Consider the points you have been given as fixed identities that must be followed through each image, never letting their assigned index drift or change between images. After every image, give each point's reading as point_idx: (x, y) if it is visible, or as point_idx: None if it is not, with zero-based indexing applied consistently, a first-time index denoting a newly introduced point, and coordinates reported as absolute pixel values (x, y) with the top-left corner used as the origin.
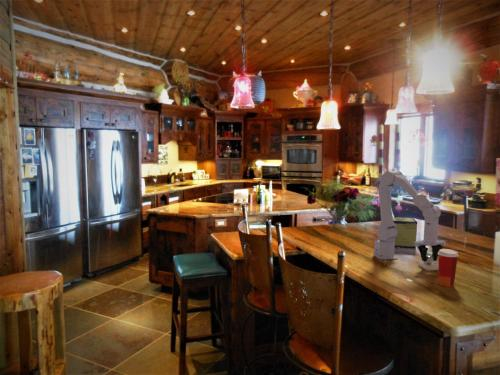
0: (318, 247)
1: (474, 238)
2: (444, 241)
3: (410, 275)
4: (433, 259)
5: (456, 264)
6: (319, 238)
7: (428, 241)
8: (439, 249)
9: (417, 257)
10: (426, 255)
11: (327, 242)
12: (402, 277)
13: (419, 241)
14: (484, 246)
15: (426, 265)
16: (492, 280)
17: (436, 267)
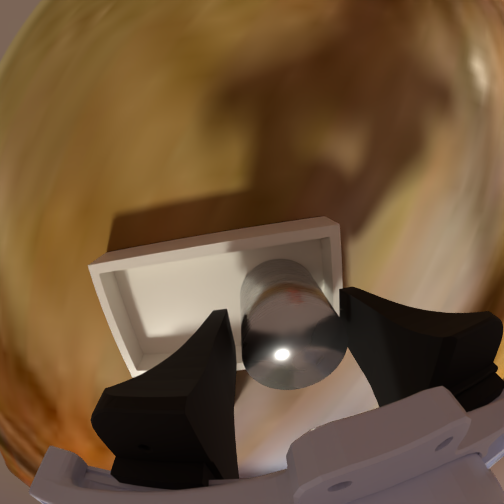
0: None
1: None
2: (43, 501)
3: (465, 127)
4: (252, 308)
5: None
6: None
7: (487, 475)
8: (167, 384)
9: (240, 454)
10: (312, 370)
11: None
12: (496, 111)
13: (494, 458)
14: (5, 452)
15: (340, 240)
16: (2, 68)
17: (236, 235)
